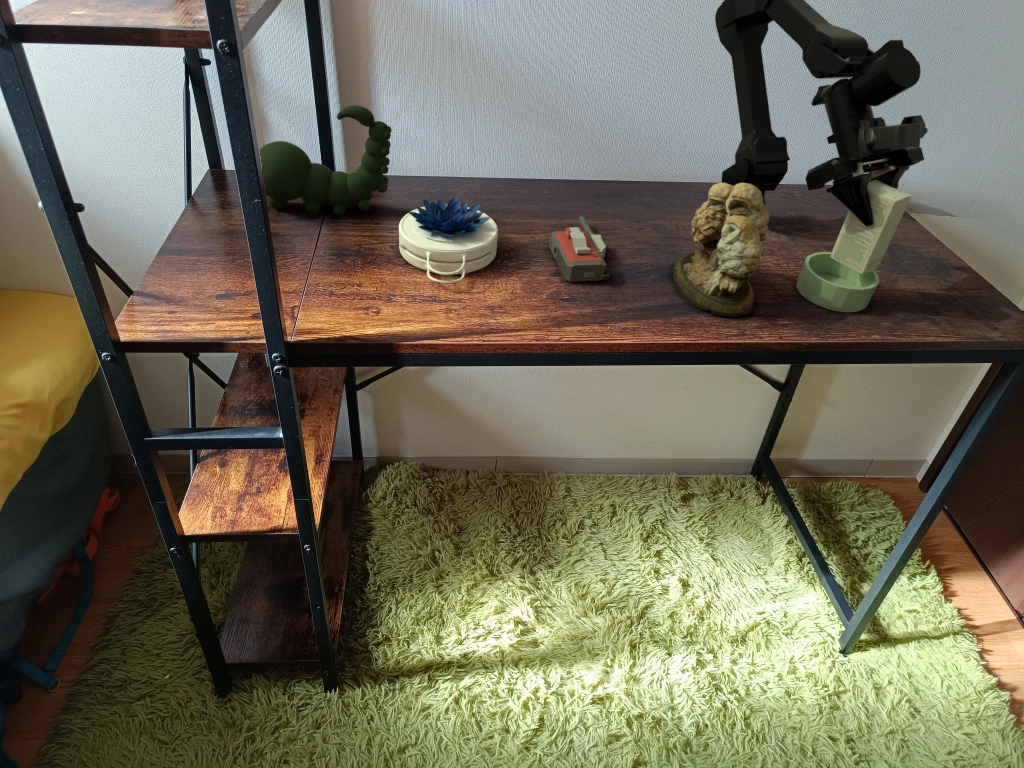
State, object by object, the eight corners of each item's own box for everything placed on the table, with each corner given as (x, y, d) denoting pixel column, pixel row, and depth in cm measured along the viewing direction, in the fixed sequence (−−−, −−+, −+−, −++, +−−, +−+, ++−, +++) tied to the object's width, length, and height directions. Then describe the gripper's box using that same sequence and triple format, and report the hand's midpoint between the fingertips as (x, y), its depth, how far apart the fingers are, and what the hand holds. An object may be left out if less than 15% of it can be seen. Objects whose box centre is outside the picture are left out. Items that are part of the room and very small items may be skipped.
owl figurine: (655, 258, 115) (679, 158, 104) (720, 256, 118) (750, 158, 107) (697, 320, 102) (730, 213, 91) (770, 316, 104) (810, 212, 93)
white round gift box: (404, 185, 113) (388, 245, 98) (499, 192, 114) (498, 252, 99) (405, 224, 118) (390, 287, 102) (496, 230, 118) (495, 293, 103)
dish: (796, 302, 108) (806, 279, 105) (795, 268, 117) (804, 246, 114) (871, 319, 106) (883, 295, 103) (865, 283, 115) (875, 261, 112)
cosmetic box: (878, 269, 107) (914, 196, 99) (861, 276, 105) (897, 201, 97) (844, 250, 111) (876, 178, 103) (826, 256, 109) (858, 183, 101)
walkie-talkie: (620, 285, 108) (585, 224, 123) (625, 260, 105) (589, 201, 120) (566, 287, 106) (537, 225, 121) (569, 261, 103) (540, 201, 118)
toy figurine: (387, 207, 125) (242, 189, 121) (394, 101, 113) (233, 77, 109) (384, 232, 118) (230, 214, 114) (390, 121, 106) (219, 97, 102)
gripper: (855, 100, 91) (887, 214, 91) (944, 88, 98) (973, 194, 98) (790, 136, 101) (819, 239, 101) (875, 123, 109) (902, 219, 109)
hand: (880, 223), depth 102 cm, fingers closed on cosmetic box, 4 cm apart
